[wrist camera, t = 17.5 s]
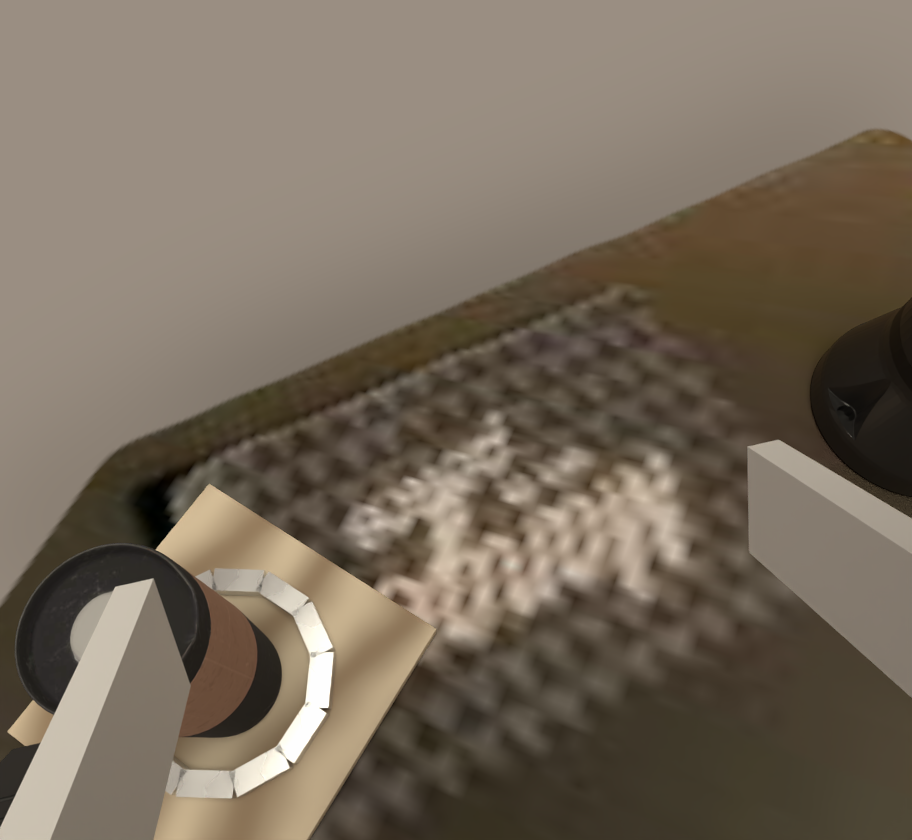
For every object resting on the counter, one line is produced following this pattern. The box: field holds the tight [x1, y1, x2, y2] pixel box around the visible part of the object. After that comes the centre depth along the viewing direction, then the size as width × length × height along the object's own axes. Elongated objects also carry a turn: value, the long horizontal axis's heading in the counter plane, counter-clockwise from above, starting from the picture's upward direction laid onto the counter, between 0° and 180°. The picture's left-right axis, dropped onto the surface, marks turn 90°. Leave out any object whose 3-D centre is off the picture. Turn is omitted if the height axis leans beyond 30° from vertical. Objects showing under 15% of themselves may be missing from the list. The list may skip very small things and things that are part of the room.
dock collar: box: [165, 568, 336, 799], centre depth 48 cm, size 14×14×2 cm
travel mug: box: [15, 543, 282, 738], centre depth 40 cm, size 8×8×20 cm
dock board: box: [8, 484, 436, 840], centre depth 50 cm, size 20×20×2 cm
